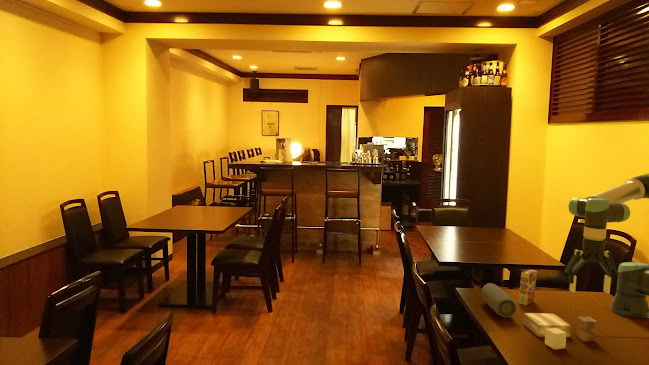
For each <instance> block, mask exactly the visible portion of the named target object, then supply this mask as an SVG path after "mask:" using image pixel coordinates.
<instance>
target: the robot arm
mask: <svg viewBox="0 0 649 365" xmlns="http://www.w3.org/2000/svg"><path fill="white" fill-rule="evenodd" d="M641 199H649V173H646V174H641V175H637V176H634V177H631V178H628V179H627V180H625V181H624V183H622V184H620V185H617V186H613V187H612V188H609V189H606V190H603V191H601V192H598V193H595V194H592V195H589V196H587V197H584V198H583V197H582V198H581V197H573V198H572V199H571V200H570V201H569V203H568V210H569V214H571V215H573V216H577V217H581V218H584V224H583V225H584V226H583V238H582V244H581V245H582V249H581V250H579V249H574V251H573V254H572V257H571V258H570V259H569V261H568V263H567V265H566V266H565V267H564V269H563V272H564V273H566V274H567V275H568V280H567V281H568V283H569V291H570V292H571V293H576V285H577V273H578V272H579V271H580V270H581V269H582V268H583V267H584V266H585V265H586V264H587V263H595V264H596V263H598V264H599V265H600V267H601V269H603V271H604V272H605V273H606V274H604V278H603V279H604V280H603V289H602V290H603V293H606V294H610V292H611V285H612V284H613V279H614V278H615V277H616V276H617V280H616V292H615V296H614V298H613V299H612V302H611V303H610V311H612V312H613V313H615V314H617V315H620V316H624V317H627V318H628V317H629V318H633V319H634V318H635V319H646V318H647V319H648V318H649V304H648V300H647V296H648V297H649V264H648V263H643V262H635V261H634V262H629V261H628V262H622V263H619V265H618V268H617V267H616V264H615V261H614V258H613V252H612V251H610V250H608V249H607V250H605V247H606V240H605V239H606V238H607V227H608V223H622V222H626V221H627V220H628V219H629V218H630V216H631V209H630V207H629V206H628V205H627V204H625V203H627V202H629V201H631V200H633V201H636V200H641ZM580 256H581V257H580ZM603 257H605V259H606V261H605V260H604V258H603ZM606 262H607V264H606Z"/></svg>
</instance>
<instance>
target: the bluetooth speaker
mask: <svg viewBox="0 0 649 365" xmlns="http://www.w3.org/2000/svg"><path fill="white" fill-rule="evenodd" d="M480 292H481V295H482V297H483V299H484V301H485V302H486V303H487V305H488V306H489V307H490V308H491V310H492V309H493V310H492V311H493V312H494V313H495V314H496V315H497V316H500V317H503V318H508V319H509V318H512V317H513V316H515V315H516V312H517V309H518V308H517V305H516V302H515V301H514V300H513V298H511V296H510V295H509V294H508V293H507V292H505V290H503V289H502V288H501V287H500V286H498V285H496V284H495V283H492V282H490V283H486V284H484V285H483V287H482V288H481V290H480Z"/></svg>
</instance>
